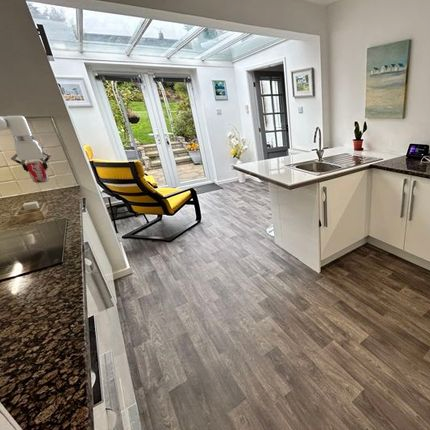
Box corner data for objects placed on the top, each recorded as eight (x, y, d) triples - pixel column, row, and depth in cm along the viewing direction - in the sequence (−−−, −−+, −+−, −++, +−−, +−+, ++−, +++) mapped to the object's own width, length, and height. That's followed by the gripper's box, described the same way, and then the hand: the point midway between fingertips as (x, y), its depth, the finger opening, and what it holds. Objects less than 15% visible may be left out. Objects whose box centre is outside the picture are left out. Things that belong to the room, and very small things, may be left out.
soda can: (33, 184, 152) (25, 163, 147) (33, 182, 156) (24, 162, 152) (50, 181, 157) (42, 161, 152) (49, 180, 161) (41, 160, 157)
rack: (18, 225, 130) (13, 216, 129) (24, 215, 144) (20, 206, 142) (45, 219, 136) (41, 211, 135) (48, 210, 150) (45, 202, 148)
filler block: (27, 216, 140) (22, 205, 137) (29, 213, 143) (23, 203, 141) (40, 213, 143) (35, 203, 140) (41, 211, 146) (37, 201, 144)
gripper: (46, 137, 155) (57, 167, 162) (2, 139, 145) (16, 171, 151) (44, 138, 150) (57, 169, 157) (-1, 140, 139) (14, 173, 146)
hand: (37, 170), depth 154 cm, fingers closed on soda can, 7 cm apart
